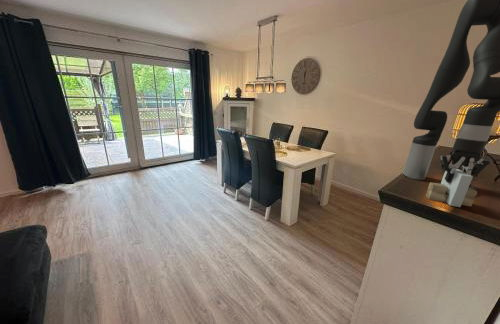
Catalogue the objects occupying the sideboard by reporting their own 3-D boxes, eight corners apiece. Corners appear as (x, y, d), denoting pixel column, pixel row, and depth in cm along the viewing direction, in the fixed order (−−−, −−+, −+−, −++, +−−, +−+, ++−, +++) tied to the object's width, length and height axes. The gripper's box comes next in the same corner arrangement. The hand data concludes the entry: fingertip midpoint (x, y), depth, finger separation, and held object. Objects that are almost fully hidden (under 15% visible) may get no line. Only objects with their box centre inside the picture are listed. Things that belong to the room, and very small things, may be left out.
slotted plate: (436, 194, 83) (446, 166, 80) (445, 195, 82) (456, 168, 79) (450, 205, 74) (462, 175, 71) (460, 207, 73) (473, 176, 70)
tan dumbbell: (425, 195, 82) (430, 182, 80) (466, 202, 78) (472, 188, 76) (428, 199, 79) (433, 185, 77) (471, 206, 75) (477, 191, 73)
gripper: (490, 138, 72) (471, 183, 77) (441, 134, 77) (427, 176, 82) (507, 142, 65) (485, 190, 70) (452, 137, 70) (436, 183, 75)
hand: (454, 182), depth 76 cm, fingers open, 3 cm apart
